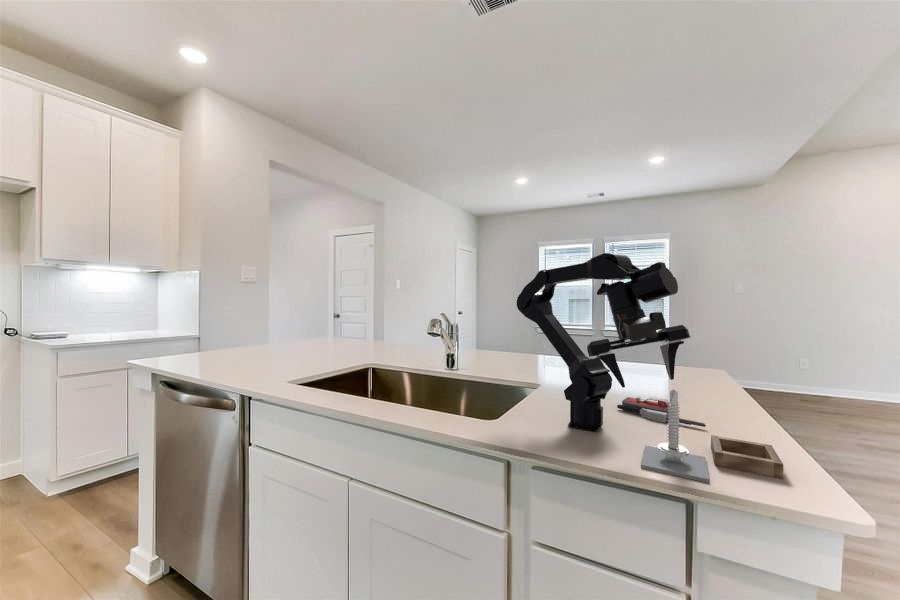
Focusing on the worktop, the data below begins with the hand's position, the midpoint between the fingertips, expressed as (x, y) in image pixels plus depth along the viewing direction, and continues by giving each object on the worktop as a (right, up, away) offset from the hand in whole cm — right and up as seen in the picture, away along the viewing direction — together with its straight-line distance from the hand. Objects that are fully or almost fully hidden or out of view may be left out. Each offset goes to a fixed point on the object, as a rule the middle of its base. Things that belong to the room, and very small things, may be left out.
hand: (647, 383), depth 75 cm
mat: (+1, -13, -7) cm, 15 cm away
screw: (+1, -13, -7) cm, 15 cm away
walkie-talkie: (+14, -13, +20) cm, 27 cm away
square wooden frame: (+15, -13, -6) cm, 21 cm away
